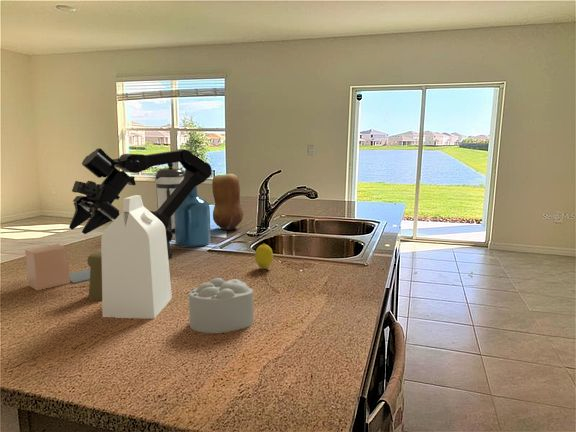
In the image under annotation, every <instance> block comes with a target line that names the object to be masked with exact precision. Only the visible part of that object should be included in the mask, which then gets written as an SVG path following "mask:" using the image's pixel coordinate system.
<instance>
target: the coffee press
mask: <svg viewBox="0 0 576 432" xmlns="http://www.w3.org/2000/svg"><path fill="white" fill-rule="evenodd" d="M173 165H174V163H169V164H167V166H168V167H167V168H165V167H164V168H163V167H162V168H159V169H158V170H157V171H156V173H155V177H154V183H155V185H156V186H155V187H156V204H157V205H156V207H157V210H158V209H159V208H160V207H161V206H162V204H163V203H164V202H165V201H166V200H167V198H168V197H169V196H170V195H171V194H172V192H173V191H174V190H175V189H176V188H177V186H178V185H179V184H180V183H181V182H182V180H183V179H184V175H185V170H183V169H182V168H177V167H173ZM166 230H168V231H169V232H170V233H171V234H172V232H173V230H175V220H174V214H173V215H172V216H171V218H170V221H169V225H168V228H167V229H166ZM172 235H173V234H172Z"/></svg>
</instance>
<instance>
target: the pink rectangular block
mask: <svg viewBox="0 0 576 432" xmlns="http://www.w3.org/2000/svg"><path fill="white" fill-rule="evenodd" d="M24 252H25V262H26V270H27V279H28V286H29V287H31V288H32V289H34V290H35V291H37V292H38V290H39V291H43V290H47V289H50V288H55V287H58V286H63V285H68V284H71V282H70V278H69V274H70V270H69V258H68V248H67V247H66V246H64V245H61V244H59V243H55V244H49V245H43V246H37V247H31V248H26V249H24ZM46 288H47V289H46ZM42 289H43V290H42Z"/></svg>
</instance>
